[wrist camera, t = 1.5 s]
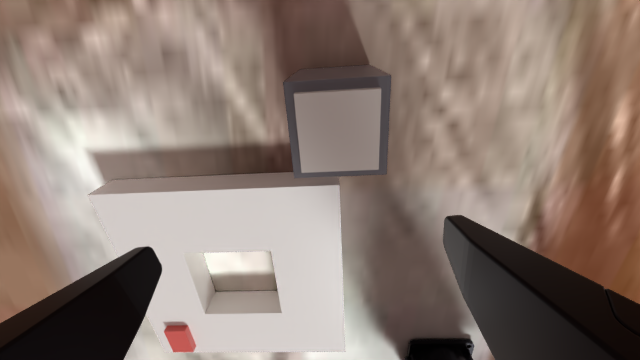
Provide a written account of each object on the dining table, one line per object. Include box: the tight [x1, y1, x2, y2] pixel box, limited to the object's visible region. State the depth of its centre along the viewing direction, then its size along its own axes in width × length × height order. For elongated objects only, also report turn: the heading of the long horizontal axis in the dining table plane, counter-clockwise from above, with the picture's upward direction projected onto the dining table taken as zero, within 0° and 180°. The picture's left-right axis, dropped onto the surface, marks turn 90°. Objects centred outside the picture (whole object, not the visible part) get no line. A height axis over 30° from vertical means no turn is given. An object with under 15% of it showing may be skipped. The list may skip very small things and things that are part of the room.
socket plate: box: [88, 172, 345, 352], centre depth 24 cm, size 18×18×3 cm
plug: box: [283, 65, 391, 178], centre depth 15 cm, size 4×4×7 cm
